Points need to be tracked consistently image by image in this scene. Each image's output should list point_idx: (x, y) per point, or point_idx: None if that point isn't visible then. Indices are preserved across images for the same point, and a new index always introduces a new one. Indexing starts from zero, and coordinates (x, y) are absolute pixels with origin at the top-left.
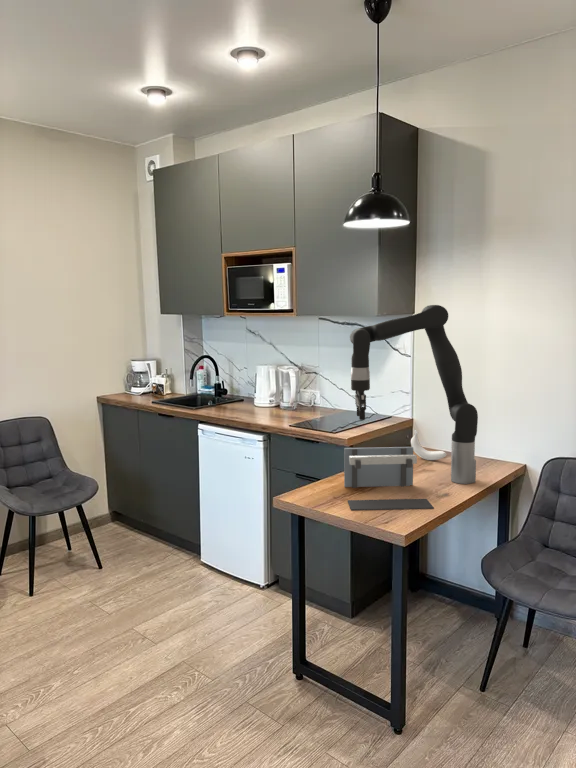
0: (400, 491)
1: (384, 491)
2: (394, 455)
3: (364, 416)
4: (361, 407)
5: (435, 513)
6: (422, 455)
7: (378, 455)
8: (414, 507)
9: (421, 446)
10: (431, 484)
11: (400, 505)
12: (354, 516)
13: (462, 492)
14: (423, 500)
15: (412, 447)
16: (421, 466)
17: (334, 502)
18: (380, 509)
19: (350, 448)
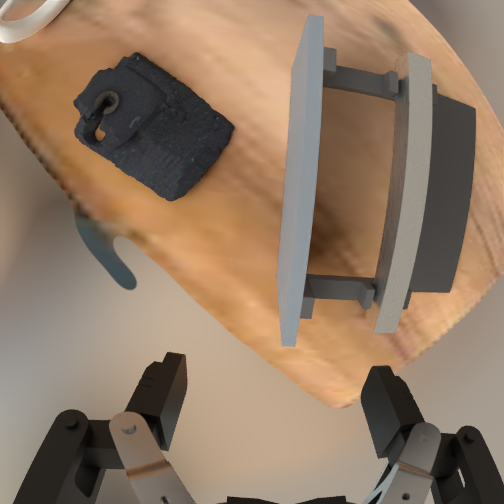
0: (352, 125)
1: (346, 171)
2: (415, 143)
3: (395, 384)
4: (458, 468)
5: (492, 121)
6: (50, 18)
7: (403, 215)
8: (473, 150)
9: (27, 16)
10: (293, 20)
11: (460, 176)
12: (472, 289)
13: None
14: (437, 104)
15: (323, 20)
16: (107, 19)
17: None
18: (463, 228)
19: (295, 323)
